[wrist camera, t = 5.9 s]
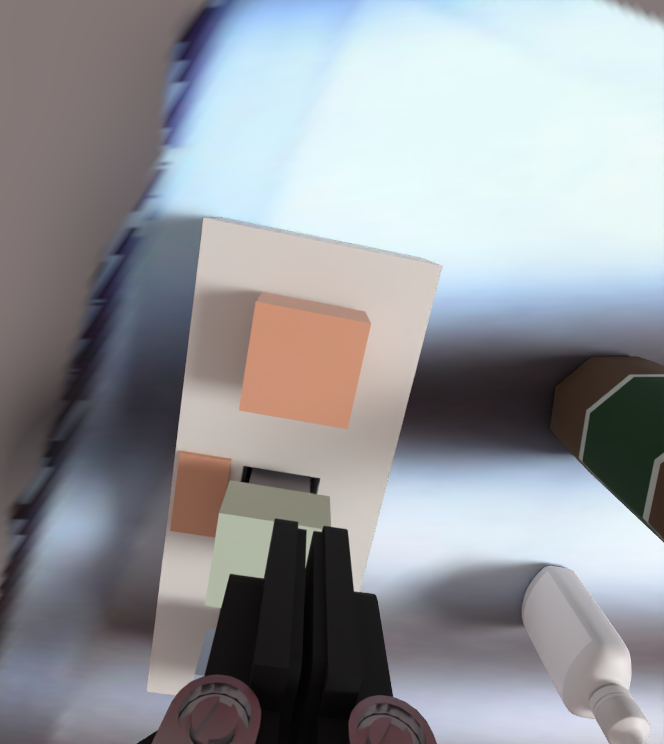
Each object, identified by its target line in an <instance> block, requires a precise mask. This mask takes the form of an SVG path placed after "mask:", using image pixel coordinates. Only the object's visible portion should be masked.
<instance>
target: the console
mask: <svg viewBox="0 0 664 744" xmlns="http://www.w3.org/2000/svg"><path fill="white" fill-rule="evenodd" d="M441 270H442V266H441V265H439V264H436V263H434V262H431V261H429V260H426V259H424V258H420V257H415V256H410V255H405V254H400V253H395V252H390V251H385V250H380V249H375V248H370V247H365V246H360V245H356V244H351V243H346V242H341V241H336V240H331V239H326V238H321V237H316V236H311V235H306V234H301V233H296V232H291V231H286V230H281V229H276V228H271V227H267V226H262V225H257V224H252V223H247V222H242V221H237V220H232V219H227V218H222V217H221V218H203V226H202V234H201V242H200V251H199V259H198V267H197V276H196V284H195V292H194V301H193V309H192V318H191V326H190V334H189V343H188V351H187V359H186V368H185V376H184V385H183V393H182V401H181V410H180V418H179V426H178V435H177V443H176V451H175V460H174V468H173V477H172V485H171V493H170V502H169V510H168V518H167V527H166V535H165V544H164V552H163V560H162V569H161V577H160V585H159V594H158V602H157V610H156V619H155V627H154V636H153V644H152V652H151V661H150V669H149V677H148V686H147V692H154V693H162V694H170V695H177V693H178V692H179V691H180V690H181V689H182V688H183V687H184V686H186V685H187V684H188V683H189V682H191V681H193V680H194V674H195V671H196V667H197V663H198V660H199V656H200V652H201V648H202V645H203V641H204V637H205V634H206V630H207V629H212V630H216V627H217V623H218V619H219V615H220V611H221V608H218V607H211V606H205V602H206V596H207V589H208V582H209V576H210V569H211V563H212V556H213V549H214V543H215V536H216V530H217V523H218V517H219V512H220V509H221V506H222V503H223V500H224V497H225V494H226V491H227V488H228V484H229V481H230V480H231V481H237V482H244V483H245V481H246V475H247V469H248V466H249V467H255V468H261V469H267V470H273V471H279V472H285V473H291V474H298V475H304V476H310V477H313V478H312V483H311V488H310V493H312V494H318V495H325V496H330V513H331V527H336V528H343V529H347V530H348V536H349V546H350V556H351V566H352V576H353V586H354V591H355V592H360V588H361V584H362V580H363V576H364V572H365V568H366V564H367V560H368V556H369V552H370V548H371V545H372V541H373V537H374V533H375V529H376V525H377V521H378V517H379V513H380V509H381V505H382V501H383V497H384V493H385V490H386V486H387V482H388V478H389V474H390V470H391V466H392V462H393V458H394V454H395V450H396V446H397V442H398V438H399V435H400V431H401V427H402V423H403V419H404V415H405V411H406V407H407V403H408V399H409V395H410V391H411V387H412V383H413V380H414V376H415V372H416V368H417V364H418V360H419V356H420V352H421V348H422V344H423V340H424V336H425V332H426V329H427V325H428V321H429V317H430V313H431V309H432V305H433V301H434V297H435V293H436V289H437V285H438V281H439V277H440V274H441ZM262 292H266V293H271V294H277V295H282V296H287V297H292V298H298V299H303V300H308V301H313V302H318V303H324V304H329V305H334V306H339V307H344V308H350V309H355V310H360V311H365V312H366V314H367V316H368V318H369V320H370V322H371V327H370V331H369V335H368V340H367V344H366V349H365V353H364V358H363V362H362V367H361V371H360V376H359V380H358V385H357V389H356V394H355V398H354V403H353V407H352V412H351V416H350V421H349V425H348V429H344V428H338V427H332V426H326V425H320V424H315V423H309V422H303V421H297V420H291V419H286V418H280V417H274V416H268V415H262V414H256V413H251V412H245V411H239V406H240V399H241V393H242V387H243V380H244V374H245V367H246V361H247V354H248V348H249V341H250V335H251V328H252V322H253V315H254V309H255V302H256V300H257V299H258V298H259V296H260V295H261V293H262Z"/></svg>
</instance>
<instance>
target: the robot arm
mask: <svg viewBox="0 0 664 744" xmlns="http://www.w3.org/2000/svg"><path fill="white" fill-rule="evenodd" d="M306 536H307V530H306V529H299V528H298V522H297V521H290V520H284V519H277V518H275V520H274V525H273V530H272V536H271V541H270V547H269V552H268V558H267V563H266V569H265V574H264V578H257V577H250V576H243V575H236V574H230V575H229V579H228V582H227V587H226V591H225V595H224V599H223V603H222V607H221V611H220V615H219V619H218V623H217V627H216V631H215V635H214V639H213V643H212V647H211V651H210V655H209V659H208V663H207V667H206V671H205V675H204V676H203V677H200V678H198V679H196V680H193V681H191V682H189V683H188V684H187V685H186V686H184V687H183V688H182V689H181V690H180V691H179V692H178V693H177V695H176V696H175V698H174V699H173V701H172V702H171V704H170V706H169V708H168V710H167V712H166V714H165V717H164V719H163V721H162V723H161V725H160V727H159V729H158V730H157V731H156V732H154V733H153V734H151V735H150V736H148V737H147V738H145V739H143V740H142V741H140V742H139V743H137V744H437V743H436V740H435V737H434V734H433V732H432V731H431V729H430V727H429V725H428V723H427V721H426V720H425V719H424V718H423V716H422V715H421V714H420V713H419V712H418V711H417V710H416V709H415V708H413V707H412V706H410V705H409V704H408V703H406V702H404V701H402V700H400V699H397V698H395V697H393V694H392V688H391V681H390V675H389V669H388V663H387V656H386V650H385V644H384V638H383V631H382V625H381V619H380V613H379V606H378V601H377V597H376V595H375V594H369V593H362V592H355V591H354V586H353V576H352V566H351V556H350V546H349V536H348V530H347V529H343V528H336V527H330V526H323V529H322V532H319V531H313V535H312V539H311V544H310V549H309V554H308V558H307V563H306ZM305 566H306V568H305Z"/></svg>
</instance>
